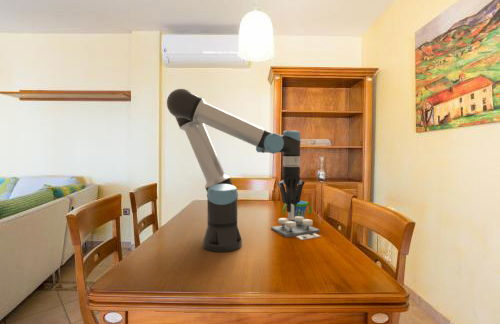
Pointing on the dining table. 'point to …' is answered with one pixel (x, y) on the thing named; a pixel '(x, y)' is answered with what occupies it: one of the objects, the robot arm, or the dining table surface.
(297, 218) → the button
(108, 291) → the dining table surface
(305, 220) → the button
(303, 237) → the pattern tile
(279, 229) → the button board
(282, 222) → the button
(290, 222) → the button
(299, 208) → the snack cup
